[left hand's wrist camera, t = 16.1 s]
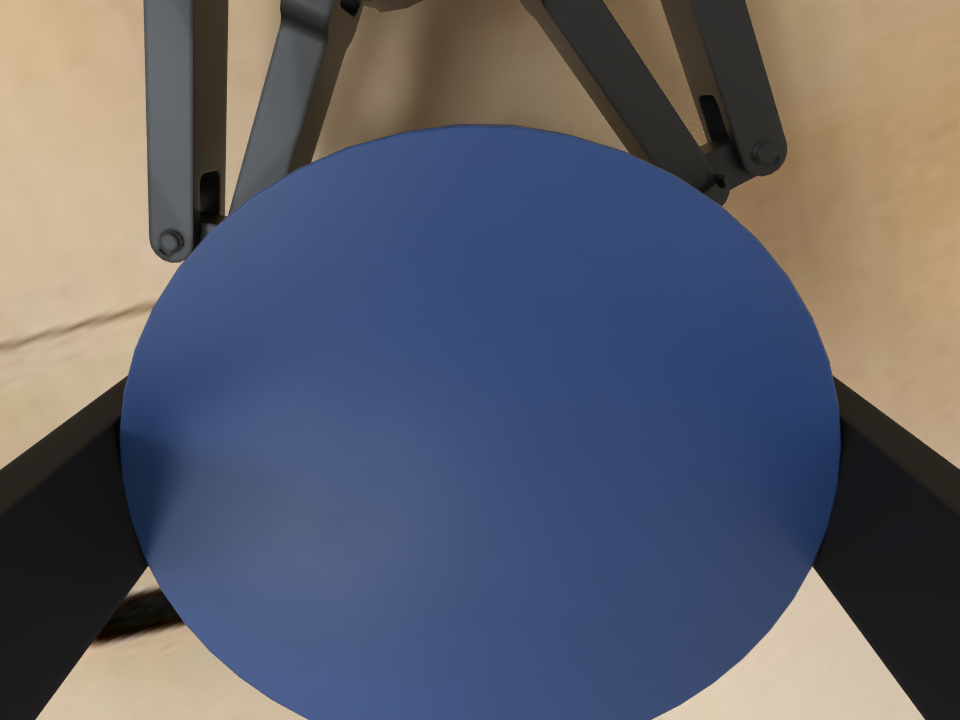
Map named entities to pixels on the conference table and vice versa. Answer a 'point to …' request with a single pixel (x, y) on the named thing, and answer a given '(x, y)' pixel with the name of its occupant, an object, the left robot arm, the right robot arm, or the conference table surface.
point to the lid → (480, 434)
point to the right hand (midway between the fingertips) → (498, 432)
